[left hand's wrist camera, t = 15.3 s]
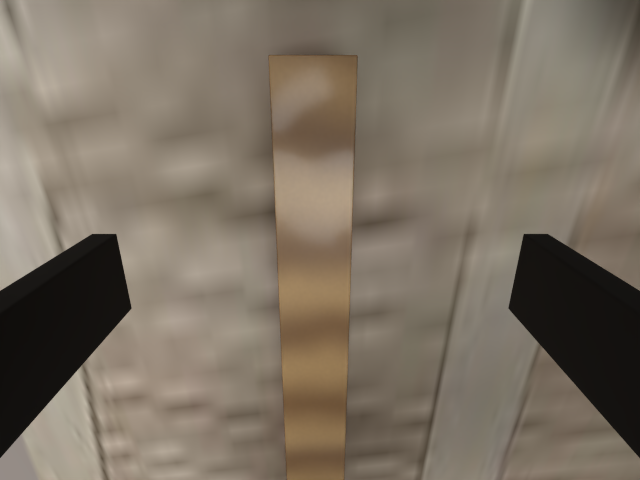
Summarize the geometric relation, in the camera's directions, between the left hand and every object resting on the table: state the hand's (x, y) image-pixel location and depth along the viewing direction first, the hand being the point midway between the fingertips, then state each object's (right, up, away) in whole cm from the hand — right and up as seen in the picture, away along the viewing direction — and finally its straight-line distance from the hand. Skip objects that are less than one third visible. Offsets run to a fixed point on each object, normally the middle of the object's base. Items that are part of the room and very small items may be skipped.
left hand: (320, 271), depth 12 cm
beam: (-1, -10, +29) cm, 30 cm away
